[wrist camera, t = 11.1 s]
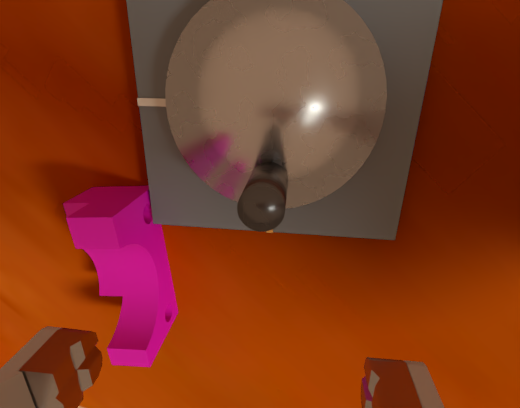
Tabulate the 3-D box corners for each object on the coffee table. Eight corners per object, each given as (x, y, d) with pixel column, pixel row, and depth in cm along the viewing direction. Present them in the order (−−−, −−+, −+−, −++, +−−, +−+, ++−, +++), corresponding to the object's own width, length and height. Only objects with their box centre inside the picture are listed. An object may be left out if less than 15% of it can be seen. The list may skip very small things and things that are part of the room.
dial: (163, -18, 22) (103, -57, 16) (400, -18, 21) (450, -62, 14) (180, 197, 29) (142, 237, 22) (364, 209, 27) (386, 256, 20)
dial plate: (448, -66, 21) (459, -77, 20) (390, 232, 30) (395, 241, 28) (128, -59, 23) (116, -69, 22) (159, 217, 32) (152, 224, 30)
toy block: (94, 186, 32) (36, 218, 25) (154, 184, 31) (112, 217, 24) (126, 309, 37) (87, 363, 30) (178, 311, 36) (150, 367, 29)
